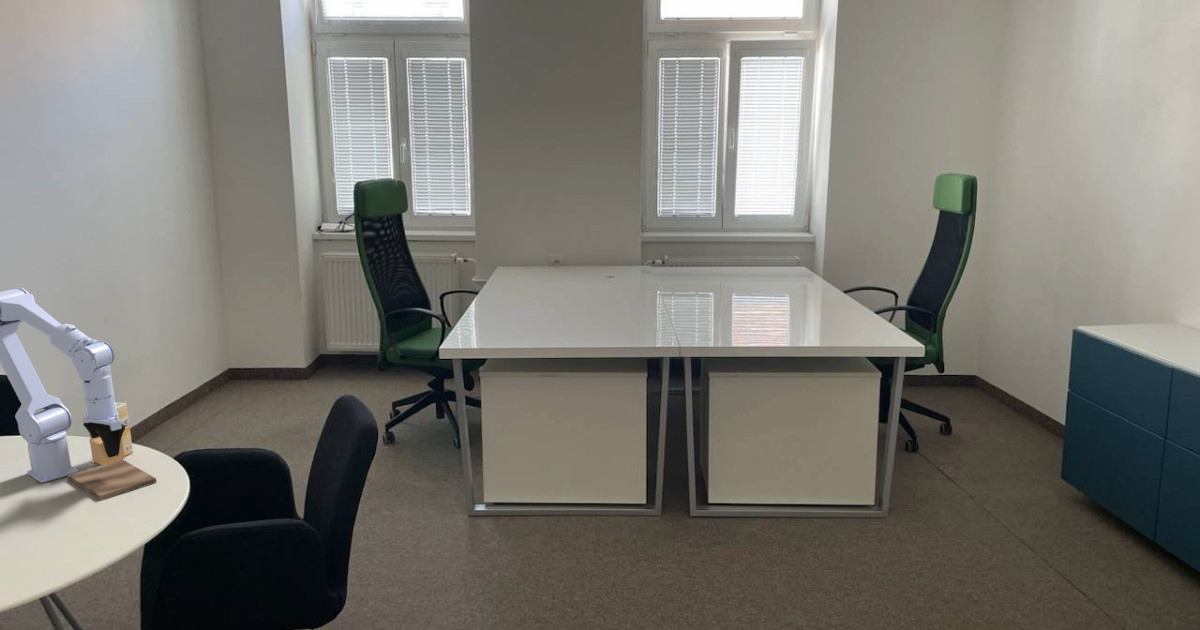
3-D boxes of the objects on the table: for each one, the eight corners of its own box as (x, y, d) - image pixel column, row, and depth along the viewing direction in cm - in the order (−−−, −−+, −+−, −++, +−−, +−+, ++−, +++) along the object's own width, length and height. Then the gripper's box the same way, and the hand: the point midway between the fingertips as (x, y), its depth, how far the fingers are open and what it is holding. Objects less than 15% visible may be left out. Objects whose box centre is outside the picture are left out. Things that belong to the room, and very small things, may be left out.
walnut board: (68, 479, 207) (68, 475, 207) (122, 463, 216) (122, 459, 216) (100, 500, 195) (99, 495, 195) (156, 482, 204) (155, 478, 204)
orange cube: (92, 459, 204) (89, 439, 203) (115, 453, 208) (112, 432, 207) (101, 465, 201) (98, 444, 200) (125, 458, 205) (121, 437, 203)
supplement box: (110, 465, 215) (102, 413, 212) (93, 464, 215) (85, 412, 212) (134, 452, 222) (127, 402, 219) (117, 451, 223) (110, 401, 220)
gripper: (67, 394, 203) (76, 450, 206) (93, 407, 193) (102, 466, 196) (100, 386, 208) (109, 441, 211) (127, 399, 199) (135, 456, 202)
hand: (108, 453), depth 204 cm, fingers closed on orange cube, 5 cm apart
